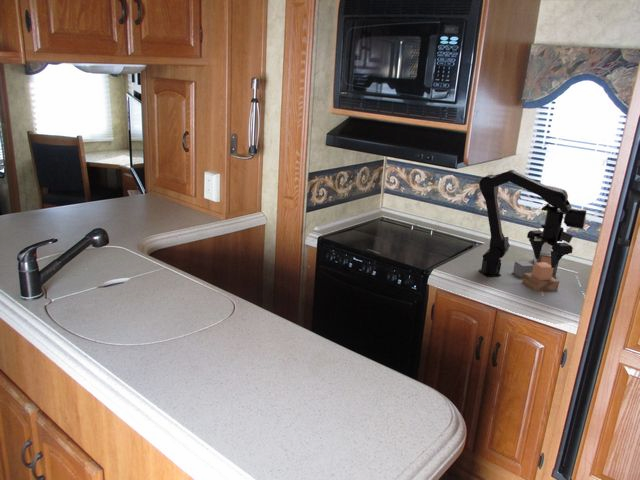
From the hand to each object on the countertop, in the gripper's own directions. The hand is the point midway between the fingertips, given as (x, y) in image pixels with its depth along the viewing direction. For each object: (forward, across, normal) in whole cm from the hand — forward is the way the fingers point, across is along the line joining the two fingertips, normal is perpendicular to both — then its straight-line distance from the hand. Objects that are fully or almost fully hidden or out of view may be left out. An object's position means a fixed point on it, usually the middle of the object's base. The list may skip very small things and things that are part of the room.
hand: (544, 263), depth 207 cm
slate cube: (+9, +11, 0) cm, 15 cm away
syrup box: (+10, +22, -17) cm, 29 cm away
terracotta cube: (+6, 0, 0) cm, 6 cm away
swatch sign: (+9, +10, -10) cm, 17 cm away
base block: (+10, 0, 0) cm, 10 cm away
